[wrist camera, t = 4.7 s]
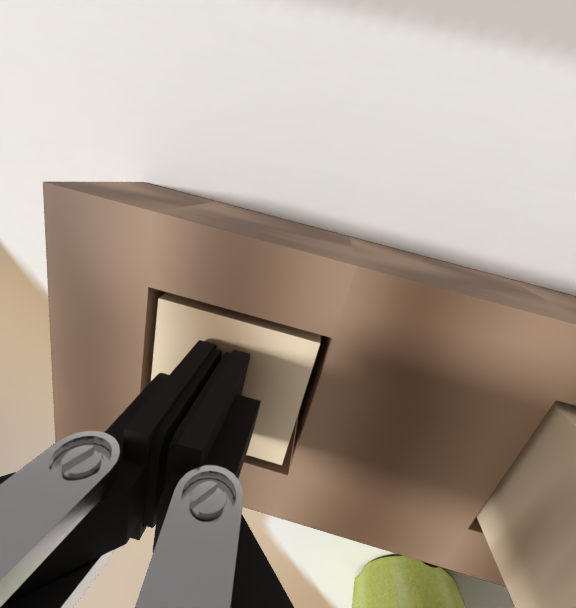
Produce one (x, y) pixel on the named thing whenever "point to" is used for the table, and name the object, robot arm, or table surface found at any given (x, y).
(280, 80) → the table surface
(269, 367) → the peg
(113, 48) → the table surface
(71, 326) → the peg board
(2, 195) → the table surface
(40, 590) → the robot arm
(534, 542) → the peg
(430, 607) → the plant pot
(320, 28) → the table surface
